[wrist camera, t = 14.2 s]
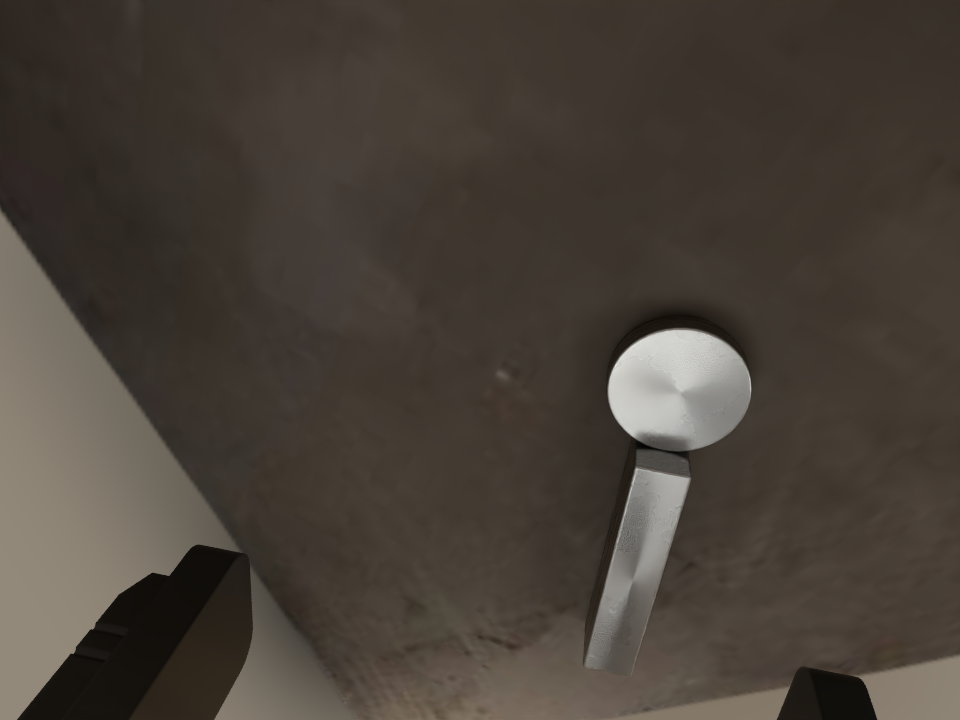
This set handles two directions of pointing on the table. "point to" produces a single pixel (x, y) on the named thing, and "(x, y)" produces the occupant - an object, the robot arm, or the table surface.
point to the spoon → (657, 466)
